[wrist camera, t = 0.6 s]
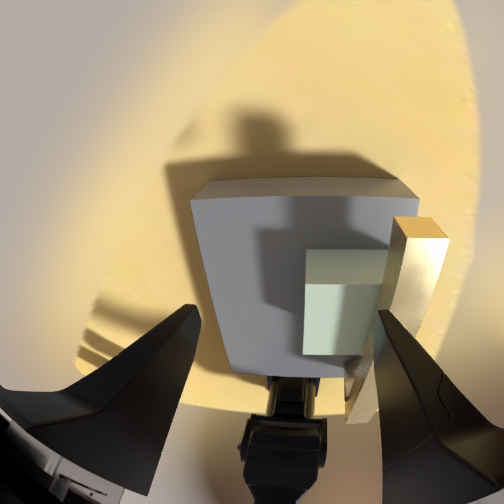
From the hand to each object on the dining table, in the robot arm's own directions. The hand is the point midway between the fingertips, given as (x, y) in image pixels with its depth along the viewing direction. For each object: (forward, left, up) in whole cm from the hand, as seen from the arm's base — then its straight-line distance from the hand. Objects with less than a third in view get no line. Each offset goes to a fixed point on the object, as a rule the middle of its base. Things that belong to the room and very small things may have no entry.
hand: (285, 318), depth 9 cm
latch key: (-7, -6, -8) cm, 12 cm away
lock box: (-7, -1, -12) cm, 14 cm away
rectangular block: (-5, -4, -8) cm, 10 cm away
